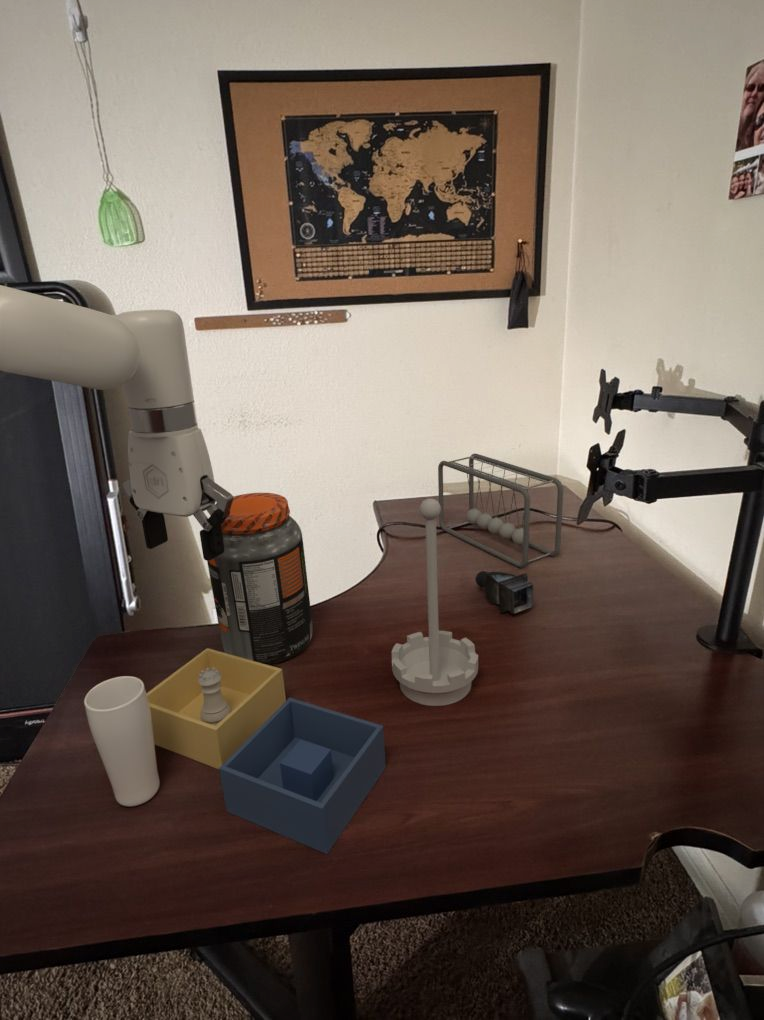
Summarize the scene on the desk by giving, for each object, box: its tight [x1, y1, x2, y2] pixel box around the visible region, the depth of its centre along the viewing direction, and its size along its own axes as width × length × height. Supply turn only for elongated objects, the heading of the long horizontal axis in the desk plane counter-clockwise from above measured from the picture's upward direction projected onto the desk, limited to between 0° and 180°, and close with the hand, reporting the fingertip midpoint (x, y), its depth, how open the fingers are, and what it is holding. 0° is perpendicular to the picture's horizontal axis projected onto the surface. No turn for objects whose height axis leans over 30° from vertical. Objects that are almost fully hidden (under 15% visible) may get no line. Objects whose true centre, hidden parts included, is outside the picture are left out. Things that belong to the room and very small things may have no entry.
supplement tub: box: [206, 492, 314, 665], centre depth 105 cm, size 16×16×26 cm
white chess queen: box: [198, 668, 231, 726], centre depth 89 cm, size 4×4×8 cm
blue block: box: [280, 739, 334, 801], centre depth 77 cm, size 4×4×4 cm
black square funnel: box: [475, 570, 534, 615], centre depth 118 cm, size 6×13×6 cm, turn 30°
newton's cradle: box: [437, 453, 564, 569], centre depth 142 cm, size 30×10×18 cm, turn 32°
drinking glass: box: [83, 675, 161, 807], centre depth 76 cm, size 7×7×15 cm
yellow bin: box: [146, 647, 287, 770], centre depth 89 cm, size 14×14×7 cm
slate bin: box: [218, 697, 387, 855], centre depth 77 cm, size 14×14×7 cm
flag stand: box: [391, 497, 479, 707], centre depth 91 cm, size 13×13×30 cm
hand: (185, 550), depth 81 cm, fingers open, 9 cm apart
